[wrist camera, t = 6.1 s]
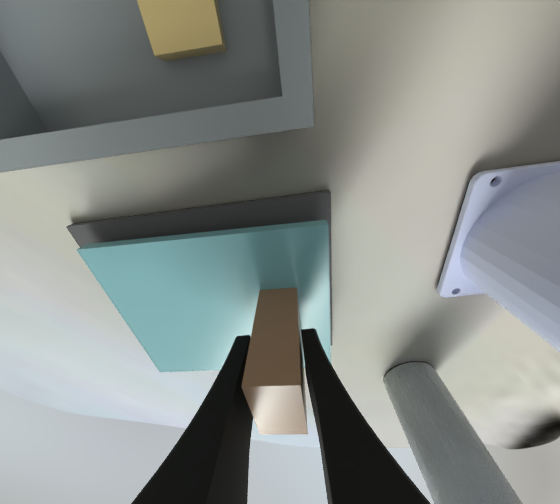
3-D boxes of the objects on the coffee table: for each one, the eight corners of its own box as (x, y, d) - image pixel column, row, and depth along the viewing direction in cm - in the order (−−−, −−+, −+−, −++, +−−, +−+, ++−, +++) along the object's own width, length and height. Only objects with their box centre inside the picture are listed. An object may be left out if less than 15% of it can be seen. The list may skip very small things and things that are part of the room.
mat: (328, 189, 11) (330, 192, 11) (330, 341, 17) (332, 345, 17) (72, 224, 12) (66, 226, 12) (160, 358, 18) (158, 362, 18)
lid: (324, 213, 11) (359, 305, 5) (327, 347, 16) (347, 465, 10) (98, 237, 12) (-65, 331, 7) (169, 354, 17) (111, 463, 12)
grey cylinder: (380, 367, 19) (470, 576, 10) (434, 355, 19) (581, 569, 10) (385, 393, 21) (464, 584, 12) (434, 383, 21) (554, 578, 12)
